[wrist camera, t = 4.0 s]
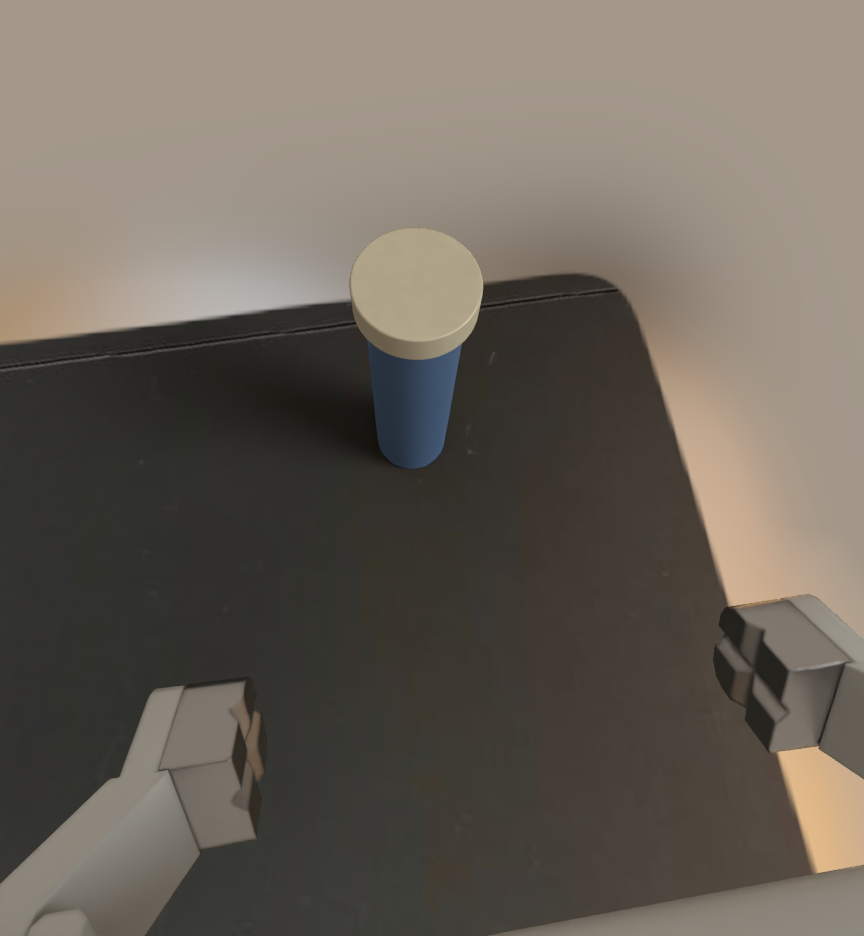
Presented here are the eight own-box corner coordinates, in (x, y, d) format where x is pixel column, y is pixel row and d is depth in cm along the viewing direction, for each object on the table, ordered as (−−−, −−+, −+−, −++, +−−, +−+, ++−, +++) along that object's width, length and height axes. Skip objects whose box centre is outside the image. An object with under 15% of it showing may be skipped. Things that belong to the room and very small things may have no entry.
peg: (446, 397, 27) (474, 223, 16) (456, 472, 25) (491, 335, 15) (367, 403, 26) (345, 230, 16) (373, 479, 25) (353, 345, 15)
